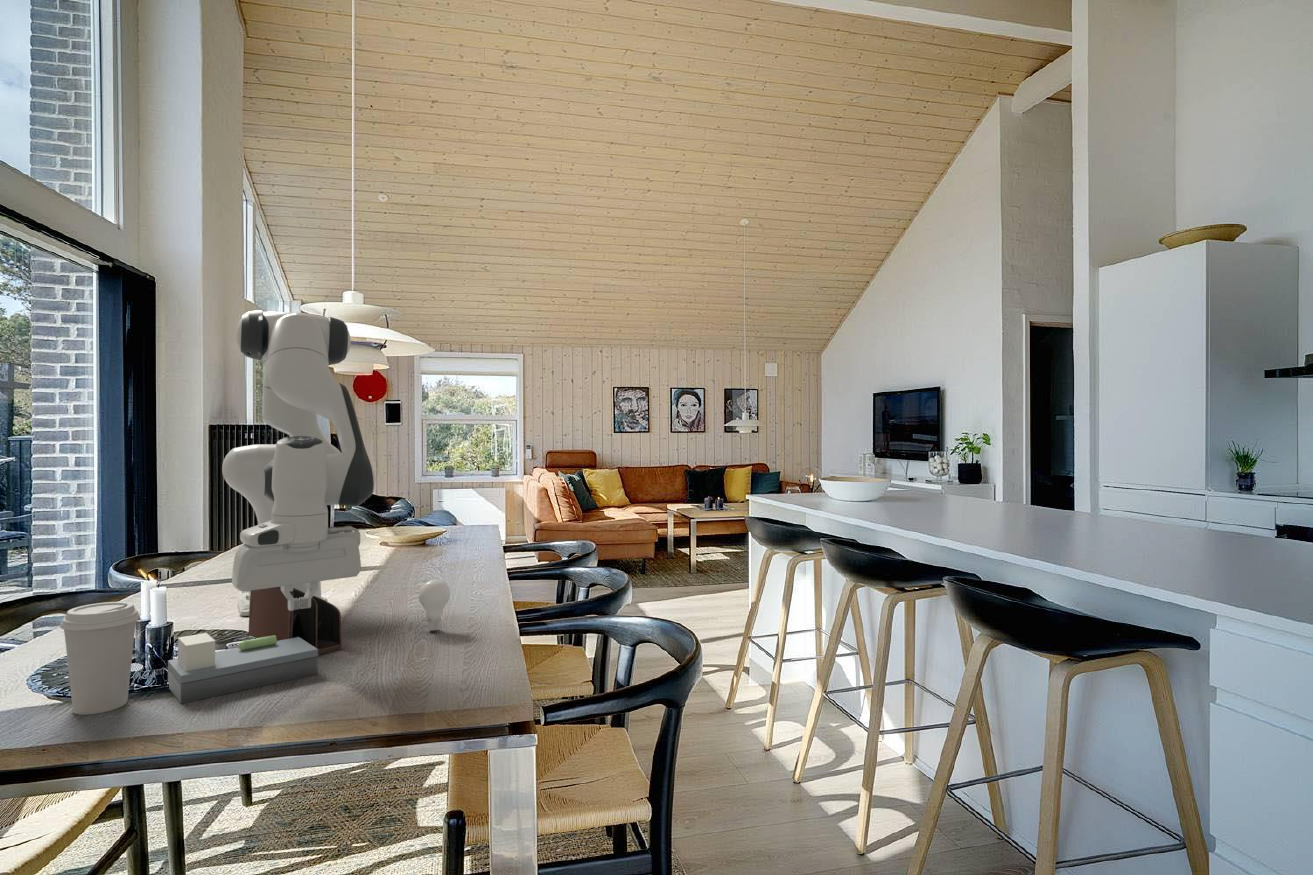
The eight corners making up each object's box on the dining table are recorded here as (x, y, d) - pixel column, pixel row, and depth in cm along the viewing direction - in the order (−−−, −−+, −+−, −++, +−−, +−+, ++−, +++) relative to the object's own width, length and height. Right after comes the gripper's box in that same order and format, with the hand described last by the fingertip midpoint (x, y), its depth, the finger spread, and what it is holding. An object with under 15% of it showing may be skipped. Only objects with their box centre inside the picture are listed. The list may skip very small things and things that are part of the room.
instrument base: (167, 686, 115) (167, 668, 115) (298, 660, 129) (298, 643, 129) (180, 703, 108) (180, 684, 108) (317, 673, 122) (317, 656, 122)
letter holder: (288, 662, 129) (288, 585, 128) (247, 641, 142) (247, 571, 141) (342, 650, 136) (342, 577, 136) (299, 630, 149) (299, 564, 149)
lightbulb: (411, 633, 147) (412, 581, 147) (432, 626, 153) (432, 575, 153) (436, 637, 145) (436, 583, 145) (456, 629, 151) (456, 577, 150)
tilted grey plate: (167, 667, 115) (168, 636, 115) (298, 643, 129) (298, 615, 129) (180, 683, 108) (180, 649, 108) (317, 656, 122) (318, 626, 122)
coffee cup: (74, 724, 100) (75, 619, 100) (48, 709, 105) (49, 609, 105) (151, 702, 108) (151, 605, 108) (123, 690, 114) (123, 597, 113)
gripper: (353, 522, 132) (353, 596, 133) (229, 532, 118) (229, 615, 118) (367, 526, 128) (366, 602, 128) (239, 537, 114) (239, 623, 114)
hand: (299, 608), depth 123 cm, fingers closed
